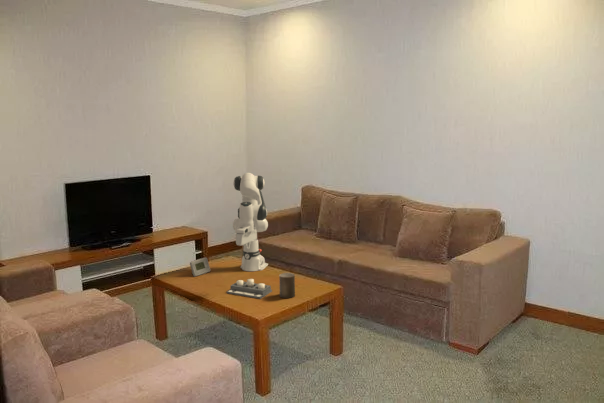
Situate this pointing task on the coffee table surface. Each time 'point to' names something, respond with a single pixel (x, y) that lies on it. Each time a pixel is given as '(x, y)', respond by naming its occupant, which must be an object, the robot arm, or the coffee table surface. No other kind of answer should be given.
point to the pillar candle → (287, 285)
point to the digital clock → (200, 266)
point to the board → (249, 290)
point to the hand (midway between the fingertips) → (247, 249)
